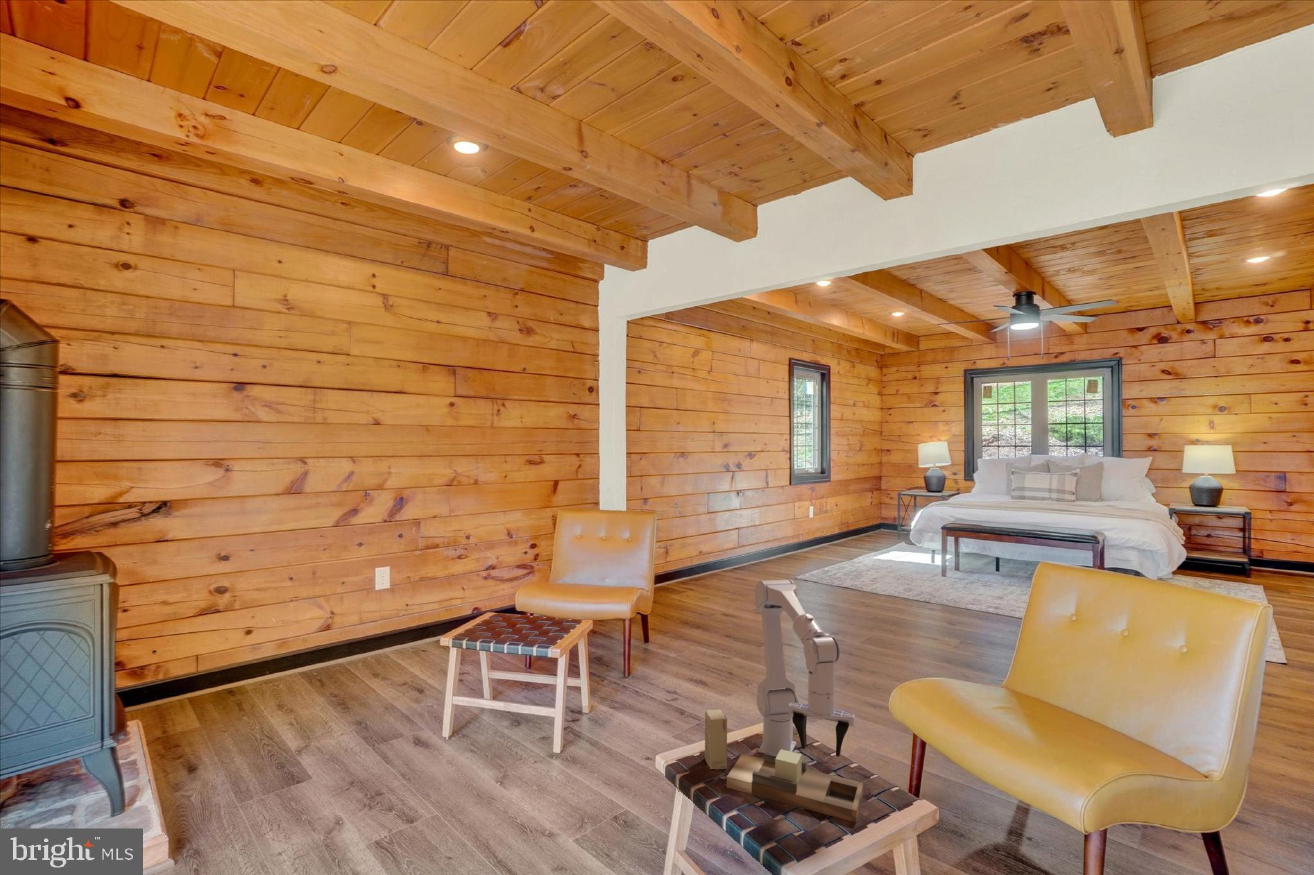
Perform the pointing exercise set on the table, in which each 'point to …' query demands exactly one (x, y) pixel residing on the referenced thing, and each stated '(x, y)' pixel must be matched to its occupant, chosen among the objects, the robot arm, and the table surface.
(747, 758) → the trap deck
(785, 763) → the sage block
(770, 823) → the table surface
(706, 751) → the skincare box
